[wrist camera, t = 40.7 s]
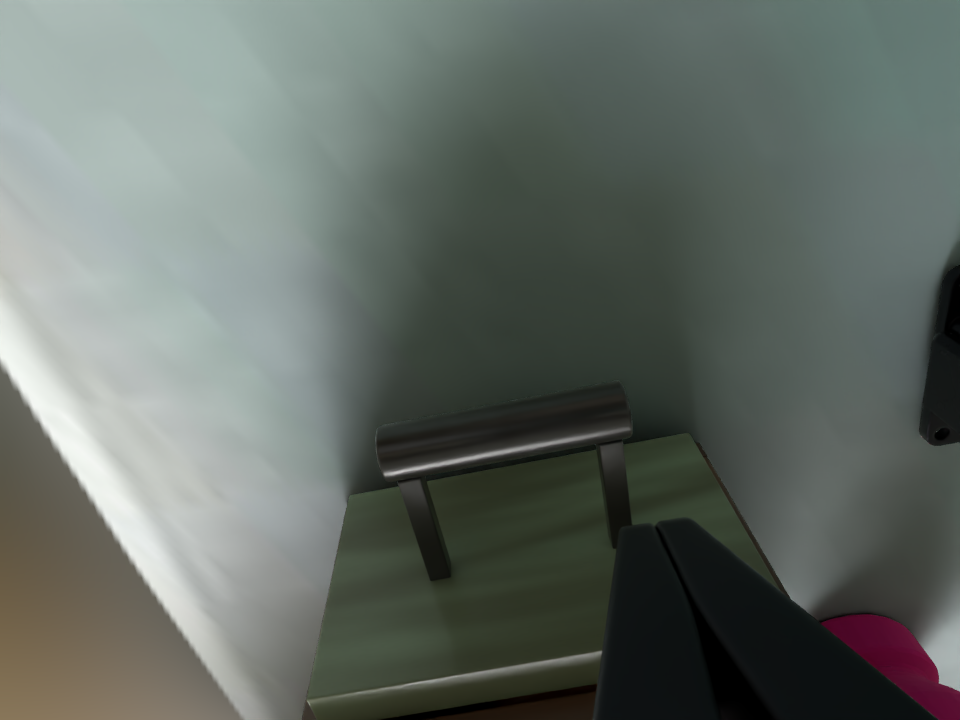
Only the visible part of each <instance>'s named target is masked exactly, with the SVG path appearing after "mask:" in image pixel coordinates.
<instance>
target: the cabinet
mask: <svg viewBox="0 0 960 720" xmlns="http://www.w3.org/2000/svg"><path fill="white" fill-rule="evenodd" d="M695 444H696V445H697V447H698V449H699V451H700V452H701V454H702V456H703V458H704V459H705V461H706V463H707V464H708V466H709V468H710V470H711V471H712V473H713V475H714V477H715V478H716V480H717V482H718V484H719V485H720V487H721V489H722V490H723V492H724V494H725V496H726V497H727V499H728V501H729V503H730V504H731V506H732V508H733V510H734V511H735V513H736V515H737V516H738V518H739V520H740V522H741V523H742V525H743V527H744V529H745V530H746V532H747V534H748V535H749V537H750V539H751V541H752V542H753V544H754V546H755V548H756V549H757V551H758V553H759V555H760V556H761V558H762V560H763V561H764V563H765V565H766V567H767V568H768V570H769V572H770V574H771V575H772V577H773V579H774V581H775V582H776V584H777V586H778V587H779V589H780V591H781V592H783V593H784V594H785V595H786V596H788V597H789V595H788V594H787V592H786V590H785V588H784V587H783V585H782V583H781V582H780V580H779V578H778V577H777V575H776V573H775V571H774V570H773V568H772V566H771V565H770V563H769V561H768V560H767V558H766V556H765V554H764V553H763V551H762V549H761V548H760V546H759V544H758V542H757V541H756V539H755V537H754V536H753V534H752V532H751V531H750V529H749V527H748V525H747V524H746V522H745V520H744V519H743V517H742V515H741V513H740V512H739V510H738V508H737V507H736V505H735V503H734V502H733V500H732V498H731V496H730V495H729V493H728V491H727V490H726V488H725V486H724V485H723V483H722V481H721V479H720V478H719V476H718V474H717V473H716V471H715V469H714V467H713V466H712V464H711V462H710V461H709V459H708V458H707V455H706V453H705V452H704V450H703V448H702V446H701V445H700V443H695ZM346 509H347V508H346ZM345 514H346V512H345ZM344 518H345V516H344ZM343 523H344V521H343ZM342 528H343V526H342ZM341 533H342V531H341ZM340 538H341V536H340ZM339 542H340V540H339ZM338 547H339V545H338ZM337 552H338V550H337ZM336 557H337V555H336ZM335 561H336V559H335ZM334 566H335V564H334ZM333 571H334V569H333ZM332 576H333V574H332ZM331 580H332V578H331ZM330 585H331V583H330ZM329 590H330V588H329ZM328 595H329V593H328ZM789 598H790V597H789ZM327 599H328V597H327ZM326 604H327V602H326ZM325 609H326V607H325ZM324 614H325V612H324ZM323 619H324V616H323ZM322 623H323V621H322ZM321 628H322V626H321ZM320 633H321V631H320ZM319 638H320V635H319ZM318 642H319V640H318ZM317 647H318V645H317ZM316 652H317V650H316ZM315 657H316V654H315ZM314 661H315V659H314ZM313 666H314V664H313ZM312 671H313V669H312ZM311 676H312V673H311ZM310 681H311V678H310ZM309 685H310V683H309ZM308 690H309V688H308ZM307 695H308V692H307ZM595 696H596V691H593V692H587V693H581V694H575V695H568V696H562V697H556V698H550V699H544V700H538V701H532V702H526V703H520V704H514V705H508V706H501V707H495V708H489V709H483V710H477V711H471V712H465V713H459V714H453V715H447V716H441V717H434V718H428V719H422V720H592V717H593V710H594V703H595ZM302 720H317V719H316V717H315V715H314V713H313V711H312V709H311V707H310V705H309V703H308V702H307V697H306V702H305V707H304V711H303V716H302Z"/></svg>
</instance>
